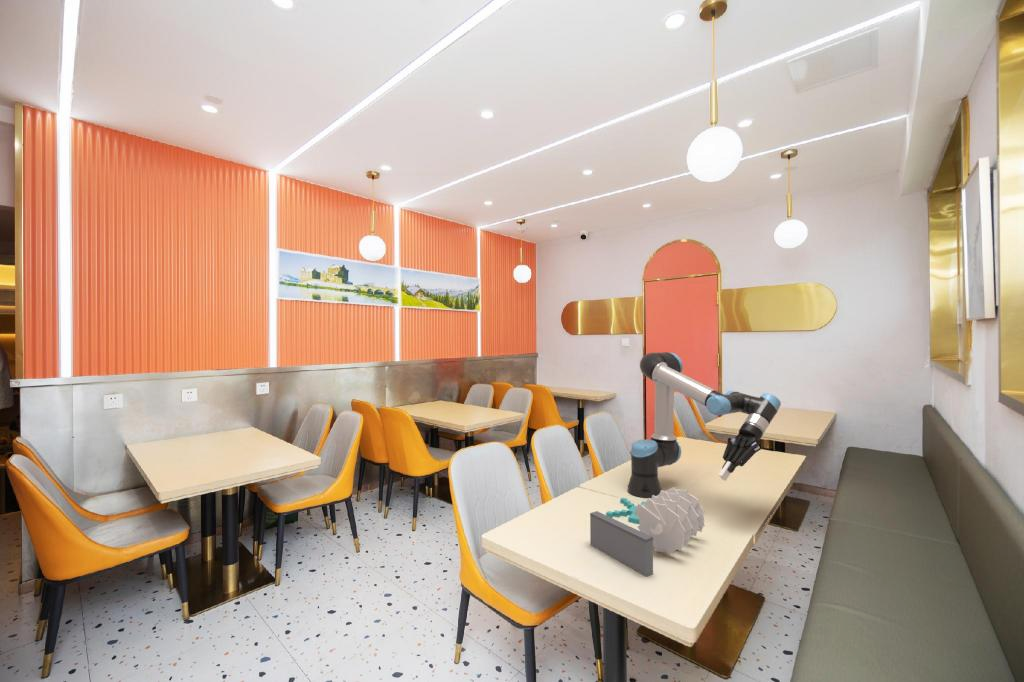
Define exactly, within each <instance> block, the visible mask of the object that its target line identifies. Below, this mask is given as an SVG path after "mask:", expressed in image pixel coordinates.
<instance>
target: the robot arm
mask: <svg viewBox="0 0 1024 682" xmlns="http://www.w3.org/2000/svg"><path fill="white" fill-rule="evenodd" d="M639 369H640V371H641V373H642V374H643V376H645V377H646V378H648V379H649V380H651V381H653V383H654V433H652V434H651V436H650V439H647V438H646V439H639V440H635V441H634V442H633V443H632V444H631V450H630V454H631V455H630V457H631V459H630V460H631V464H630V465H631V474H630V478H629V481H628V484H627V493H629V494H630V495H633V496H635V497H639V498H644V499H645V498H646V499H648V498H650V499H651V498H652V495H654V496H657V495H659V493H660V491H661V490H663V489H662V487H661V483H660V480H659V476H658V475H659V473H658V472H659V469H658V468H661V467H665V466H671V465H673V464H676V463H677V462H678V461H679V460H680V458H681V456H682V448H681V445H679V442H678V441H677V437H676V435H674V413H675V412H674V411H675V409H674V407H675V406H674V405H675V403H674V402H675V400H674V399H675V392H676V391H677V392H678V393H680V394H681V395H684V396H686V397H688V398H690V399H691V400H693V401H695V402H697V403H699V404H700V405H703V406H704V407H706V409H707V411H708V412H709V413H711V414H712V415H713V416H725V415H730V414H734V413H742V414H745V415H748V416H747V417H746V418H745V420H744V421H743V424H742V425H741V426H740V428H739V429H738V434H737V435H736V436H735V437H733V438H731V437H727V444H726V446H725V449H724V452H723V454H722V455H723V456H722V459H723V460H724V464H723V465H722V467H721V470H720V472H719V474H718V476H719V477H720V479H721V480H722V481H727V480H728V478H729V477H730V475H731V474H733V472H734V471H735V470H736V468H737V467H744V466H745V464H746V463H748V462H749V460H751V458H752V457H753V456H754V455H755V454H756V453H758V452H759V451H761V449H762V448H761V447H760V446H759V444H758V442H760V440H762V437H763V436H764V433H765V432H766V431H767V429H768V427H769V426H770V424H771V422H772V421H773V419H774V417H776V415H777V413H778V411H779V409H780V407H781V405H782V403H781V400H780V399H779V398H778V397H777V396H776V395H774V394H771V393H767V392H766V393H762V394H761V395H760V396H754V395H749V394H746V393H742V392H740V391H734V390H728V391H727V392H725V393H721V392H720V391H718V390H715V389H714V388H712V387H709V386H708V385H705V384H704V383H702V382H701V381H697V380H696V379H694V378H692V377H690V376H687V375H685V374H683V373H682V371H683V361H682V359H681V358H680V357H679V356H678V354H676V353H674V352H663V351H662V352H649V353H646V354H645V355H643V356H642V358H641V359H640V362H639Z"/></svg>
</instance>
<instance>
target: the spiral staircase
mask: <svg viewBox="0 0 1024 682" xmlns="http://www.w3.org/2000/svg"><path fill="white" fill-rule="evenodd" d="M645 502H646V503H645V504H643V505H641V503H640V502H639V503H638V504H637V505H636V506H637V507H636V509H635V511H634V514H635V515H636V516H638V518H639V523H640V524H638V526H637V528H638V529H637V530H639V531H641V532H643V533H645V534H647V535H649V536H651V537H653V549H654V551H655V552H656V553H657V552H660V553H661V552H662V553H663V552H665V553H667V555H668V556H670V555H672V554H673V553H674V552H675V551H679V552H681V551H682V549H683V546H685V547H687V546H688V543H689V542H691V540H692V539H691V537H693V536H694V537H697V535H698V532H700V533H702V531H703V528H704V527H705V517H704V515H706V512H705V511H704V509H703V507H702V506H701V503H700V499H698V498H697V497H695V496H694V495H692V494H690V493H689V492H688V489H687V490H686V489H678V488H675V486H672V487H670V488H669V489H666V490H663V489H662V490H661V491H660V493H659V495H657V496H654V495H652V498H647V500H646V501H645Z"/></svg>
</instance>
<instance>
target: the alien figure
mask: <svg viewBox="0 0 1024 682" xmlns="http://www.w3.org/2000/svg"><path fill="white" fill-rule="evenodd" d="M619 503H620V504H623V506H624V507H627V510H626V509H621V510H618V509H617V510H614V511H610V510H608V511H606V513H605V515H606V516H608V517H611V518H613V517H615V518H620V517H624V518H625V517H628V520H627V521H628V523H633V524H637V525H640V523H639V518H638V516H636V515H635V514H634V511H635V509H636V507H637V506H638V505H635V503H633V502H631V500H628V498H626V497H621V498H620V502H619ZM645 503H646V501H641V503H640V504H641V505H643V504H645Z"/></svg>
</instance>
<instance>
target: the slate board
mask: <svg viewBox="0 0 1024 682" xmlns="http://www.w3.org/2000/svg"><path fill="white" fill-rule="evenodd" d="M589 516H590V517H589V518H590V521H589V522H590V528H589V529H590V531H589V532H590V544H589V545H590V546H592V547H594V548H595V549H597V550H599V551H601V552H602V553H604V554H606V555H608V556H609V557H610V558H613V559H615V560H616V561H618V562H620V563H622V564H623V565H625V566H626V567H628V568H630V569H632V570H634V571H636V572H638V573H639V574H641V575H643V576H644V577H649V576H651V575H653V574H654V547H653V537H651V536H649V535H647V534H645V533H643V532H641V531H640V530H639V529H636V528H634V527H632V526H630V525H627V524H625V523H624V522H621V521H619V520H618V519H615V518H613V517H612V518H611V517H608V516H606V514H603V513H602V512H600V511H594V512H593V511H592V512H589Z"/></svg>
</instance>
